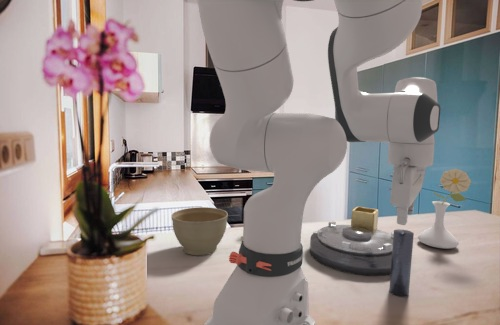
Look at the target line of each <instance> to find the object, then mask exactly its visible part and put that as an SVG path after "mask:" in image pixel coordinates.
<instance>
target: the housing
mask: <svg viewBox="0 0 500 325" xmlns="http://www.w3.org/2000/svg"><path fill="white" fill-rule="evenodd" d="M317 237H318V230H315V231H313V232H312V234H311V236H310V241H309V244H310V245H309V254H310V255H311V257H312V258H313V259H314V261H316V262H318V263H319V264H321V265H323V266H325V267H327V268H330V269H332V270H335V271H337V272H338V271H339V272H342V273H346V274H351V275H358V276H368V277H369V276H370V277H380V276H381V277H383V276H389V275H391V262H392V254H389V255H384V256H361V255H353V254H348V253H343V252H339V251H336V250H333V249H330V248H328V247H326V246H324V245H323V244H321V243H320V242H319V240H318V238H317Z"/></svg>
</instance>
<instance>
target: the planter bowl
mask: <svg viewBox="0 0 500 325" xmlns="http://www.w3.org/2000/svg"><path fill="white" fill-rule="evenodd" d="M228 217H229V214H228V212H227V211H226V210H224V209H221V208H217V207H208V206H207V207H204V206H203V207H201V206H200V207H199V206H198V207H189V208H184V209H183V208H182V209H179V210H176V211H175V212H172V214H171V221H172V228H173V232H174V236H175V238H176V240H177V242H178V243H179V244H180V245H181V247H182V248H183V251H184V253H185V254H188V255H190V256H204V255H205V256H207V255H210V254H212V253H215V252H216V251H217V249H218V245H219V244H220V243H221V241H222V239H223V238H224V235H225V233H226V230H227V224H228Z"/></svg>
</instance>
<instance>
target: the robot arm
mask: <svg viewBox="0 0 500 325" xmlns="http://www.w3.org/2000/svg"><path fill="white" fill-rule="evenodd" d="M293 1H295V2H311V1H314V0H293ZM283 3H284V0H197V6H198V12H199V18H200V23H201V27H202V32H203V36H204V38H205V42H206V46H207V49H208V53H209V56H210V58H211V61H212V65H213V67H214V69H215V72H216V75H217V77H218V80H219V83H220V87H221V89H222V93H223V96H224V99H225V100H224V101H225V111H224V113H223V115H222V116H221V117H219V118H218V119H217V120H216V122H215V123H214V124H213V126H212V129H211V130H210V136H209V148H210V151H211V153H212V156H213V158H214V159H215V161H216V162H217V163H218V164H220V165H224V166H226V167H229V168H234V169H236V170H241V171H254V172H263V173H264V172H265V173H273V182H272V185H271V186H270V187H267V188H265V189H263V190H261V191H258V192H256V193H255V194H252V195H251V196H250V197H249V198H248V200H246V202H245V205H244V207H243V233H242V235H243V237H242V238H243V239H242V241H241V243H240V247H239V249H238V252H236V251H232V252H230V253H229V256H228V262H229V263H231V264H236V266H235V268H234V270H233V272H232V273H231V274H230V276H229V278H228V279H227V281H226V283H225V284H224V286H223V287H222V289H221V290H220V291H219V293H218V294H217V296H216V299H215V300H214V304H213V308H212V314H211V316H209V318H208V319H207V320H206V321H205V322H204V323H203V325H316V321H315V319H314V318H313V317H312V316H311V315H310V306H309V305H310V304H309V300H310V298H309V296H310V295H309V281H308V280H307V278H306V276H305V274H304V272H303V270H302V265H303V258H304V251H303V250H304V249H303V244H302V239H301V238H302V228H303V219H304V212H305V211H304V210H305V206H306V203H307V201H308V198H309V196H310V194H311V193H312V191H313V190H314V189H315V188H316V186H317V185H318V184H319V183H320V182H321V181H322V180H323V179H324V178H326V177H327V176H329V175H331V174H332V173H333V172H334V171H336V170H337V169H338V168H339V167H340V165H341V164H342V162H343V161H344V160H345V157H346V154H347V149H348V143H365V142H368V143H369V142H371V143H372V142H373V143H374V142H375V143H388V152H387V163H388V164H390V165H393V169H392V170H393V173H392V177H391V178H392V179H391V185H390V186H391V188H390V197H389V199H390V200H389V201H390V202H389V203H390V205H391V206H392V207H396V224H397V225H400V226H406V225H407V223H408V215H412V214H413V213H414V210H415V208H414V207H415V202H416V198H418V196H419V194H420V192H421V190H422V188H423V185H424V180H425V174H426V171H427V170H426V169H427V167H431V166H433V165H434V155H435V144H436V140H435V136H434V134H436V133H437V132H438V131H439V128H440V121H441V120H440V116H441V105H440V104H439V103H438V89H437V83H436V81H435V80H432V79H431V78H428V77H422V76H411V77H405V78H402V79H400V80H398V81H397V82H396V85H395V88H394V92H383V93H378V92H377V93H367V92H365V91H364V92H363V91H361V90H360V89H359V79H358V67H360V66H362V65H364V64H365V63H368V62H370V61H372V60H375V59H377V58H380V57H383V56H385V55H387V54H389V53H391V52H392V51H394V50H395V49H397V48H399V46H401V45H402V44H403V43H404V42H405V41H406V40H407V39H408V38H409V37H410V36H411V35H412V33H413V32H414V30H415V29H416V28H417V26H418V24H419V21H420V19H421V16H422V11H423V10H422V9H423V0H334V4H335V7H336V12H337V14H338V25H337V27H336V28H335V29H333V30H332V31H331V33H330V35H329V40H328V45H327V62H328V70H329V76H330V78H329V79H330V82H331V89H332V96H333V101H334V111H335V112H334V118H333V117H328V116H325V115H320V114H315V113H293V112H291V113H290V112H289V113H286V112H285V113H281V112H280V113H279V112H276V111H277V110H279V109H280V108H281V107H282V106H284V104H285V103H286V102H287V101H288V99H289V98H290V96H291V94H292V92H293V88H294V76H293V75H294V74H293V70H292V65H291V60H290V55H289V49H288V44H287V39H286V34H285V30H284V25H283V22H282V21H283V19H282V18H283V17H282V16H283V12H282V10H283V5H284V4H283Z"/></svg>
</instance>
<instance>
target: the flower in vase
mask: <svg viewBox="0 0 500 325" xmlns="http://www.w3.org/2000/svg"><path fill="white" fill-rule="evenodd" d="M439 182H440V184H441V187H442V186H443V188H442V189H443V190H446V191H448V192H450V194H448V196H447V197H446V198H445V197H444V196H442V195H441V194H438V193H436V192H435V191H434V190H433V191H432V192H433V194H434V195H435V196H437V197H439V198H441V199H443V201H439V200H435V201H434V200H433V201H431V203H432V205H433V207H434V210H435V218H434V219H435V220H434V221H435V222H434V224H433V225H432V226H431V227H429V228H426V229H425V230H423V231H421V232H420V233H419V234H418V235H417V239H418V241H419V242H421V243H422V244H424V245H427V246H429V247H432V248H437V249H444V250H445V249H455V248H457V247H458V246H459V244H460V243H459V240H458V239H457V238H456V237H455V235H453V234H452V233H451V232H450V231H449V230H448V229H447V228H446V227H445V225H444V221H445V220H444V219H445V213H446V210H447V209H448V208H449V206H451V203H449V202H447V200H448V199H449V198H451V199H452V200H453V201H455V202H465V201H467V199H466V197H465V196H463V195H462V194H461V193H464V192H467V191H468V190H469V187H470V186H471V184H472V180H471V179H470V176H468V173H466V172H465V171H463V170H462V169H457V168H453V169H449V170H445V171H443V172H442V175H441V176H440V180H439Z"/></svg>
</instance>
